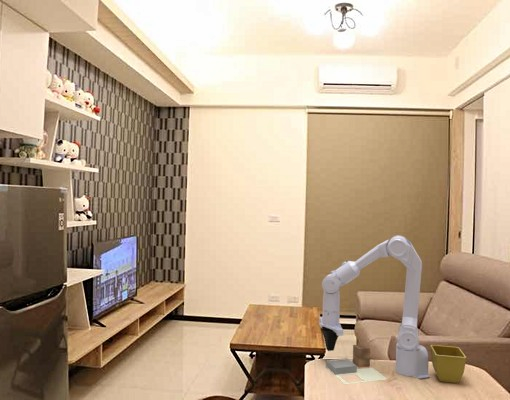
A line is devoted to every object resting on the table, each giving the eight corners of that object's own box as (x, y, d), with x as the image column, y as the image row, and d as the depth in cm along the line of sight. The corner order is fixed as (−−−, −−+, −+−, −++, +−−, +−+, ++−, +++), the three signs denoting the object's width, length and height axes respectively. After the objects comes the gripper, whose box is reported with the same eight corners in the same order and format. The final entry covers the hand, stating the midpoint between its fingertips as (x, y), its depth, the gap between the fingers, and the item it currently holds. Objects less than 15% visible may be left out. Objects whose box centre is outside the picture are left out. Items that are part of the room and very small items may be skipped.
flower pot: (466, 387, 128) (466, 357, 127) (435, 384, 129) (435, 354, 129) (458, 374, 136) (459, 346, 136) (429, 372, 138) (429, 344, 138)
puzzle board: (363, 363, 144) (363, 360, 144) (387, 382, 130) (387, 378, 130) (323, 368, 140) (323, 364, 140) (344, 387, 126) (344, 383, 126)
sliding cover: (346, 364, 141) (347, 357, 141) (356, 372, 134) (356, 365, 134) (326, 366, 139) (326, 359, 139) (335, 374, 132) (335, 367, 132)
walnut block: (363, 361, 143) (363, 343, 142) (369, 366, 139) (370, 348, 139) (352, 362, 141) (353, 344, 141) (358, 367, 138) (359, 349, 138)
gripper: (311, 305, 150) (310, 343, 150) (329, 316, 136) (328, 359, 136) (329, 304, 152) (328, 341, 152) (349, 315, 138) (348, 357, 138)
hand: (330, 350), depth 144 cm, fingers closed
